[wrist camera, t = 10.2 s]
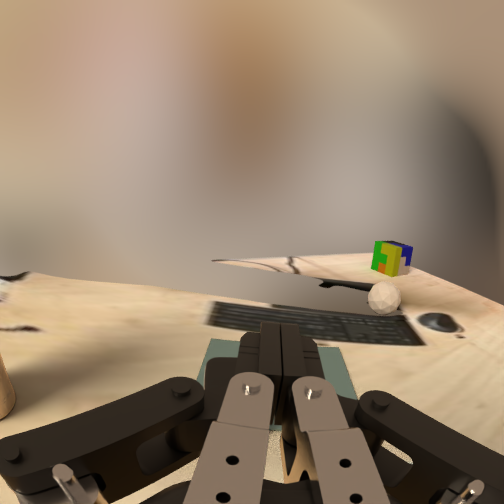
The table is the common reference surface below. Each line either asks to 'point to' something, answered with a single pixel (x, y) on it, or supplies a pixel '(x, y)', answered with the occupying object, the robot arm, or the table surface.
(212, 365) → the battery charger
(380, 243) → the puzzle toy
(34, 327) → the table surface
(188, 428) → the robot arm
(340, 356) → the mat
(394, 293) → the geometric ball
